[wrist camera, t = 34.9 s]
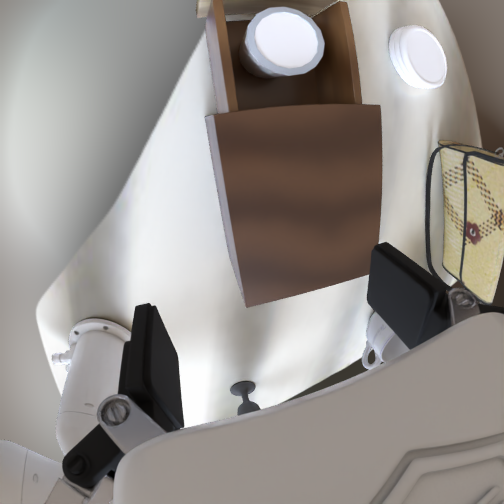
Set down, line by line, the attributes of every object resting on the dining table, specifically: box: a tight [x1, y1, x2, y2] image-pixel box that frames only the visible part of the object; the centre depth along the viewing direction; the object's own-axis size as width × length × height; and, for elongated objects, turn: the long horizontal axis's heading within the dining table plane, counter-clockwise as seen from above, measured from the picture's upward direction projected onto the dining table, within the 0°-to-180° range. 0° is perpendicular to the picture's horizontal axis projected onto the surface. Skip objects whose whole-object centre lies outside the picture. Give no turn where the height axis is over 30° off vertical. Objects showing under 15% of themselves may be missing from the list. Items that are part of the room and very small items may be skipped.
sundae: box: [230, 381, 261, 416], centre depth 43 cm, size 7×7×15 cm
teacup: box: [362, 312, 410, 370], centre depth 46 cm, size 14×11×8 cm
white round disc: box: [389, 25, 447, 89], centre depth 26 cm, size 10×10×4 cm
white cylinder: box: [239, 7, 324, 79], centre depth 21 cm, size 7×7×7 cm
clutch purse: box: [425, 140, 504, 305], centre depth 35 cm, size 30×7×15 cm, turn 21°
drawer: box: [196, 0, 362, 114], centre depth 20 cm, size 22×13×9 cm, turn 7°
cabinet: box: [205, 104, 382, 308], centre depth 28 cm, size 18×15×11 cm
